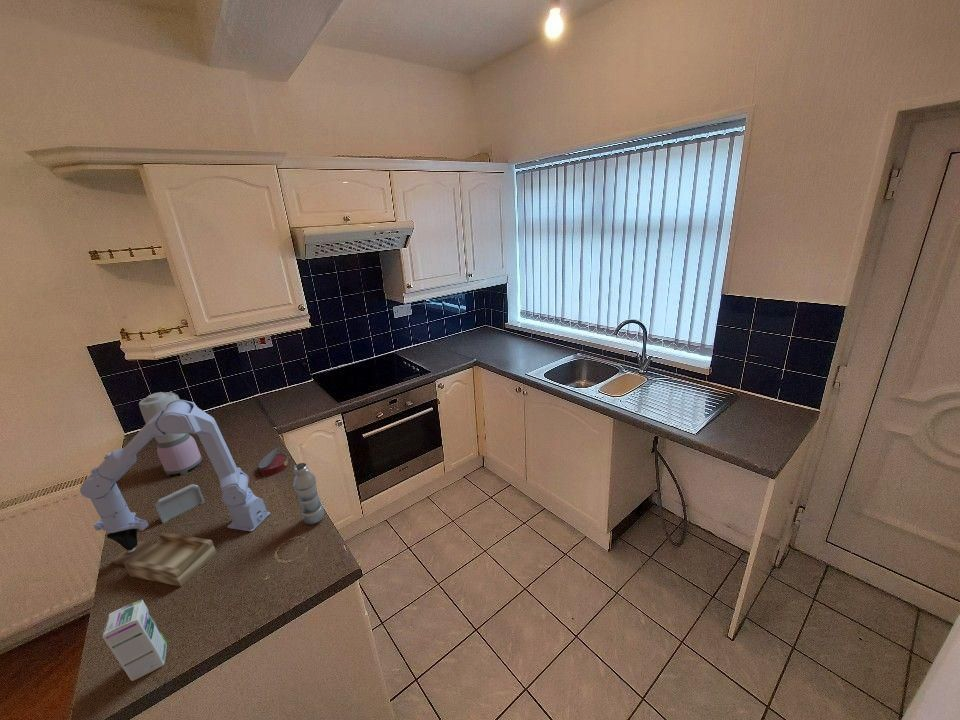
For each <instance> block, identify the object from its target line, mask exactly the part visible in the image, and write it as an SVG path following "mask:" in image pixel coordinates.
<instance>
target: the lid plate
mask: <svg viewBox="0 0 960 720" xmlns="http://www.w3.org/2000/svg"><path fill="white" fill-rule="evenodd" d="M155 544H157V543H155V542H151V541H149V542H148V541H143V540H137V546H136V547H135V548H134V549H133V550H126V549H124V551H123V552H121V553H119V554H118V555H117V556H115V558H113V559H112V560H111V562H112V564H114V563H115V565H120V566H125V565H124V562H125V561H127V560H128V559H129V560H134V561H135V560H137V559H138V558H139V557H140V556H142V555H143V554H144V553H145V552H147V551H148V550H149V549H150V548H152V547H153V546H154V545H155Z"/></svg>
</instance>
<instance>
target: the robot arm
mask: <svg viewBox="0 0 960 720" xmlns="http://www.w3.org/2000/svg"><path fill="white" fill-rule="evenodd" d="M165 433H169V434H184V433H188V434H192V435H197V436H198V439H199V441H200V442H201V445H202V447H203V448H204V451H205V453H206V455H207V457H208V459H209V461H210V463H211V465H212V468H213V469H214V471H215V473H216V475H217V477H218V479H219V487H220V490H221V492H222V495H221V500H222V503H223V504H224V505H226V507H227V509H228V512H229V515H230V518H231V523H229V524H228V525H227V528H228V529H233V530H239V531H243V532H244V531H245V532H253V531H254V530H255V529H256V528H257V527H259V526H260V524H261V523H262V522H263V521H265V519H266V518H268V516H270V515H271V512H270V511H268V510H267V507H266V504H265V501H264V499H263V498H261V497H258V496H256V495H255V494H254V492H253V491H252V489H251V488H250V487H249V483H250V478H249V476H248V474H247V473H245V472H244V471H243V470H242V468H241V467H238V466H237V464H236V463H235V460H234V459H233V456H232V454H231V452H230V449H229V448H228V445H227V443H226V441H225V439H224V437H223V435H222V432H221V429H220V427H219V426H218V424H217V421H216V420H215V418H214V417H213V416H212V415H210V414H208V413H207V412H206V411H204V410H203V409H201V408H199V406H198V405H196V403H195V402H194V401H188V400H185V399H180V400H174V401H172V402H170V403H169V404H168V405H167V407H166V409H165V411H164V408H163V409H162V410H161V411H159V412H158V413H157V414H156V415H155V416H154V417H153V418H152V419H150V420H149V421H148V422H147V424H146V423H145V424H144V425H143V427H141V429H140V430H139V431H138V432H137V434H135V436H133V438H132V439H131V440H130V441H129V442H128V443H127V444H126V445H125V447H123V448H116V449H114V450H113V451H112V452H110V451H109V452H108V453H107V454H105V455H104V457H103V459H104V460H103V461H102V462H101V463H100V464H99V466H97V467H94V468H93V469H92V470H91V471H90V474H89V475H88V477H87V478H86V479H85V480H84V481H83V482H82V484H81V485H80V487H79V488H80V489H79V492H80V494H81V495H82V496H83V497H85V498H87V499H90V501H91V503H92V505H93V508H94V509H95V510H96V513H97V514H98V516H99V518H100V520H98V521H97V522H94V524H93V525H92V526H93V529H94V530H95V531H101V530H102V531H104V532H106V533H107V535H106V537H107V539H109V540H110V539H111V540H113V541H114V542H116V543H117V544H120V546H121V547H122V548H123V549H124V550H133V549H134V548H135V547H136V546H137V541H138V530H139V531H144V530H145V529H147V528H148V527H149V522H148V520H147V519H142V518H139V517H137V516H136V514H137V513H136V512H135V511H134V512H133V511H132V512H131V510H130V508H129V506H128V504H127V502H126V501H125V498H124V496H123V494H122V493H121V490H120V487H119V486H118V484H117V481H119V480H121V478H122V477H123V476H124V475H125V474H126V473H127V472H128V471H129V470H130V468H131V467H133V465H135V464H136V463H137V460H138V458H137V454H138V453H139V452H140V451H141V450H142V449H143V448H144V447H145V446H146V445H147V444H149V442H151V440H153V438H154V436H163V435H165Z"/></svg>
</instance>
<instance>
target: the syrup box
mask: <svg viewBox="0 0 960 720" xmlns="http://www.w3.org/2000/svg"><path fill="white" fill-rule="evenodd" d="M102 639H103V640H104V642H105V643H106V645H107V646H108V648H109V649H110V651H111V653H112V655H114V658H116V660H117V662H118V663H119V664H120V666H121V667H122V670H123V671H124V672H125V674H126V675H127V677H128V678H129V679H130V681H131V682H133V681H136V680H138V679H141V678H142V677H144V676H146V675H148V674H150V673H152V672H153V671H156V670H157V669H159V668H161V667H163V666H165V662H166V661H165V660H166V657H167V647H168V642H167V640H166V638H165V637H164V635H163V633H162V631H161V629H160V627H159V625H158V624H157V623H156V620H155V619H154V617H153V616H152V613H151V612H150V610H149V608H148V607H147V605H146V603H145V602H144V600H143V599H139V600H136V601H135V602H134V601H133V602H131V603H129V604H126V605H124V606H122V607H121V608H119V609H116V610H114V611H112V612H110V613H108V617H107V621H106V623H105V626H104V629H103V633H102Z"/></svg>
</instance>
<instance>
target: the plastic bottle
mask: <svg viewBox="0 0 960 720" xmlns="http://www.w3.org/2000/svg"><path fill="white" fill-rule="evenodd" d="M293 473H294V475H295V476H294V478H293V481H292V486H293V489H294V491H295V493H296V495H297V498H298V500H299V503H300V508H301V519H302V520H303V522H304V523H305V524H307V525H315V524H317V523H320V521H322V520H323V518H324V516H325V508H324V506H323V504H322V502H321V499H320V497H319V493H318V489H317V479H316V476H315V474H314V473H312V472H311V471H309V467H308V465H307V463H305V462H299V463H297V464H296V465H294V466H293Z"/></svg>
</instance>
